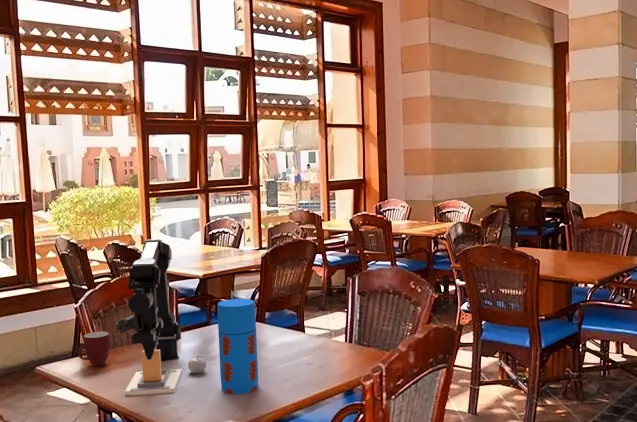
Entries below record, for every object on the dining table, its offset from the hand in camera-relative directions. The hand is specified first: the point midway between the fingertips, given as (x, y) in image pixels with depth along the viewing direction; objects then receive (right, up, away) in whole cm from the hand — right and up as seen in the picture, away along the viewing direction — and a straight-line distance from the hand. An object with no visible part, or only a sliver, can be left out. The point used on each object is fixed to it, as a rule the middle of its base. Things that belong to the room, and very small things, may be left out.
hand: (149, 359), depth 199 cm
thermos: (+26, -9, +1) cm, 27 cm away
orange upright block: (0, -8, +4) cm, 8 cm away
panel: (0, -9, +7) cm, 11 cm away
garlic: (+11, -8, +17) cm, 22 cm away
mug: (-25, -8, +28) cm, 38 cm away
